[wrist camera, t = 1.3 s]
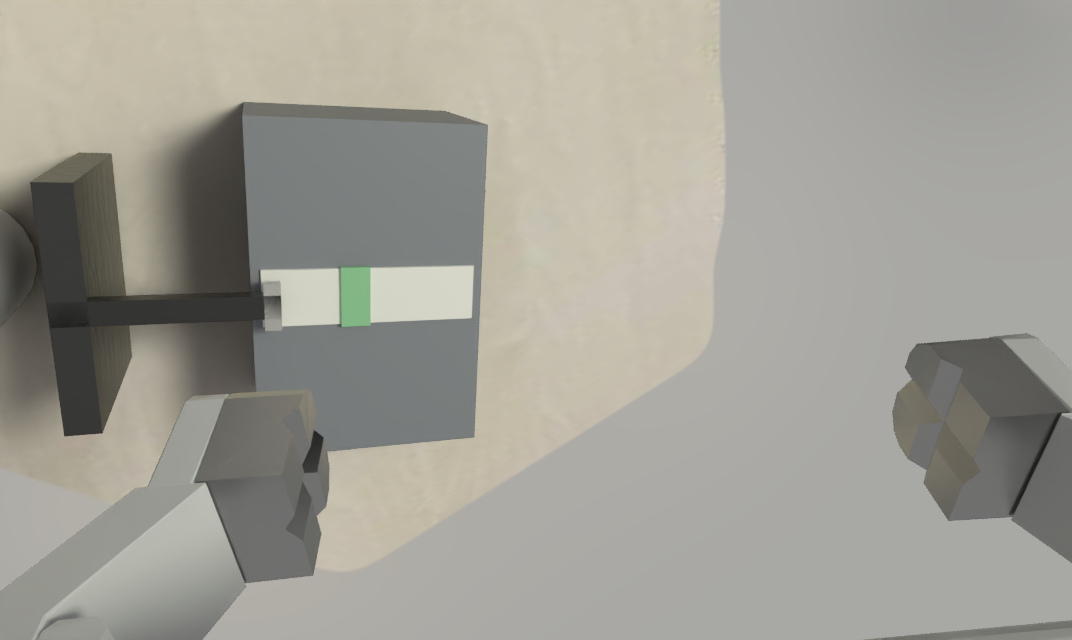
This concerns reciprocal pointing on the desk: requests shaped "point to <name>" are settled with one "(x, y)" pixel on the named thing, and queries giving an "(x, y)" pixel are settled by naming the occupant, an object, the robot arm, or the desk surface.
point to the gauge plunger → (107, 291)
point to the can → (14, 265)
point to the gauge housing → (369, 265)
